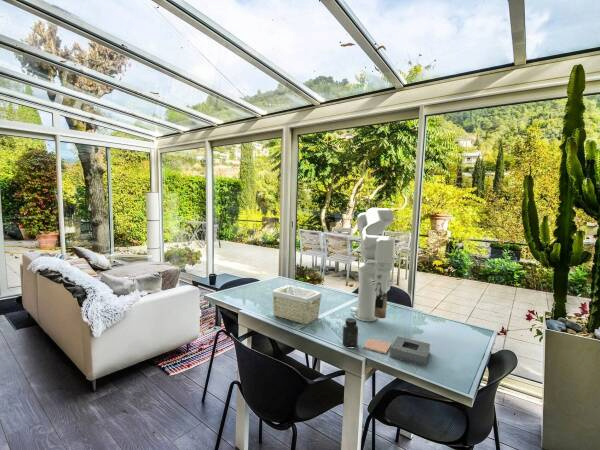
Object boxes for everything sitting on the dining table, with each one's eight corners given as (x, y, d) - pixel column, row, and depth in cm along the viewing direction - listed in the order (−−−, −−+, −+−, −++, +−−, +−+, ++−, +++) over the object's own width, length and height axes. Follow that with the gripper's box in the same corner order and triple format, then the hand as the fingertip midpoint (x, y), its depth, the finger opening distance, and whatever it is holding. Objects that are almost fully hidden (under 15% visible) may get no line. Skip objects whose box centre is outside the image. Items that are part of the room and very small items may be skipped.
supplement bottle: (340, 342, 144) (342, 316, 143) (355, 342, 144) (356, 317, 143) (344, 349, 137) (345, 322, 136) (359, 349, 137) (360, 322, 136)
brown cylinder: (372, 316, 138) (374, 294, 137) (375, 313, 143) (377, 292, 142) (383, 319, 136) (385, 297, 135) (386, 315, 140) (388, 294, 139)
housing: (389, 356, 132) (390, 347, 131) (397, 344, 144) (397, 335, 143) (424, 366, 125) (425, 357, 124) (429, 352, 137) (430, 344, 136)
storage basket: (270, 315, 173) (271, 289, 172) (287, 308, 186) (288, 284, 185) (306, 326, 160) (307, 298, 159) (321, 317, 173) (323, 291, 172)
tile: (363, 348, 138) (363, 346, 138) (370, 340, 147) (370, 338, 147) (385, 354, 133) (385, 352, 133) (391, 345, 142) (391, 343, 142)
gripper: (386, 270, 128) (383, 313, 130) (396, 264, 143) (393, 302, 144) (369, 268, 132) (366, 309, 133) (379, 261, 147) (377, 299, 148)
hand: (380, 305), depth 139 cm, fingers closed on brown cylinder, 5 cm apart
